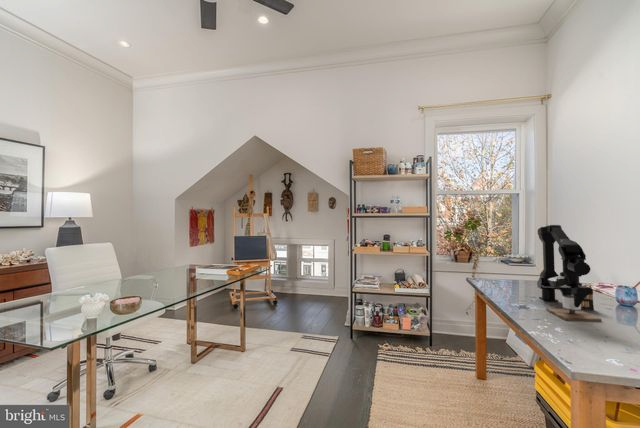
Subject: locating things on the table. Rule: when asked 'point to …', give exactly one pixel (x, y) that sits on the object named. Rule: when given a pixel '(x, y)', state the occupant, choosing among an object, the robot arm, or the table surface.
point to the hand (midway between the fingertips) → (571, 304)
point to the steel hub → (569, 302)
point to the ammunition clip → (588, 302)
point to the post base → (573, 315)
